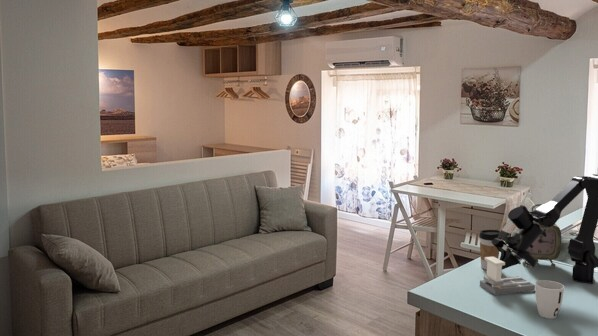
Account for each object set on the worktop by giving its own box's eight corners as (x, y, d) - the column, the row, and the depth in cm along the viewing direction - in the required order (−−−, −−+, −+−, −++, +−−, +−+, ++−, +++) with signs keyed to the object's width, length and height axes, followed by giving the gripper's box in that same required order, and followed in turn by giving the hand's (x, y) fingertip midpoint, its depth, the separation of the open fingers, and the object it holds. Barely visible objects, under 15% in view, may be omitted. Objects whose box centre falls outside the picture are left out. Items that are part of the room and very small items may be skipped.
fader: (492, 278, 188) (493, 256, 187) (504, 284, 182) (505, 262, 181) (482, 279, 188) (484, 257, 186) (494, 285, 181) (495, 263, 180)
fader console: (518, 281, 193) (518, 274, 192) (534, 290, 184) (535, 283, 184) (479, 285, 189) (480, 278, 189) (494, 295, 180) (495, 287, 180)
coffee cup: (501, 272, 203) (504, 234, 201) (479, 270, 204) (480, 233, 202) (498, 264, 211) (500, 228, 209) (476, 263, 213) (478, 227, 210)
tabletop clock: (520, 266, 209) (523, 205, 205) (516, 259, 217) (519, 200, 214) (559, 269, 205) (564, 207, 202) (553, 262, 214) (558, 202, 210)
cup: (560, 322, 159) (562, 291, 157) (531, 316, 163) (533, 286, 162) (563, 313, 166) (565, 283, 164) (535, 307, 170) (537, 278, 168)
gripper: (497, 216, 192) (468, 247, 191) (531, 229, 174) (500, 264, 173) (514, 235, 195) (486, 266, 194) (549, 250, 177) (519, 284, 176)
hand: (497, 269), depth 184 cm, fingers closed, pressing on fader
